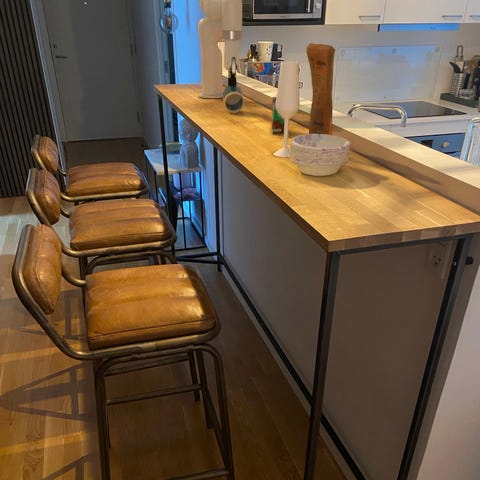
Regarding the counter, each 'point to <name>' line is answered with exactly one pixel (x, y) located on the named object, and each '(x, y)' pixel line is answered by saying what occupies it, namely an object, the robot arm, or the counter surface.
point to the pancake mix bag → (321, 87)
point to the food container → (277, 120)
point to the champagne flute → (287, 98)
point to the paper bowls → (319, 153)
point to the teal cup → (233, 99)
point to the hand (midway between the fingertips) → (232, 88)
